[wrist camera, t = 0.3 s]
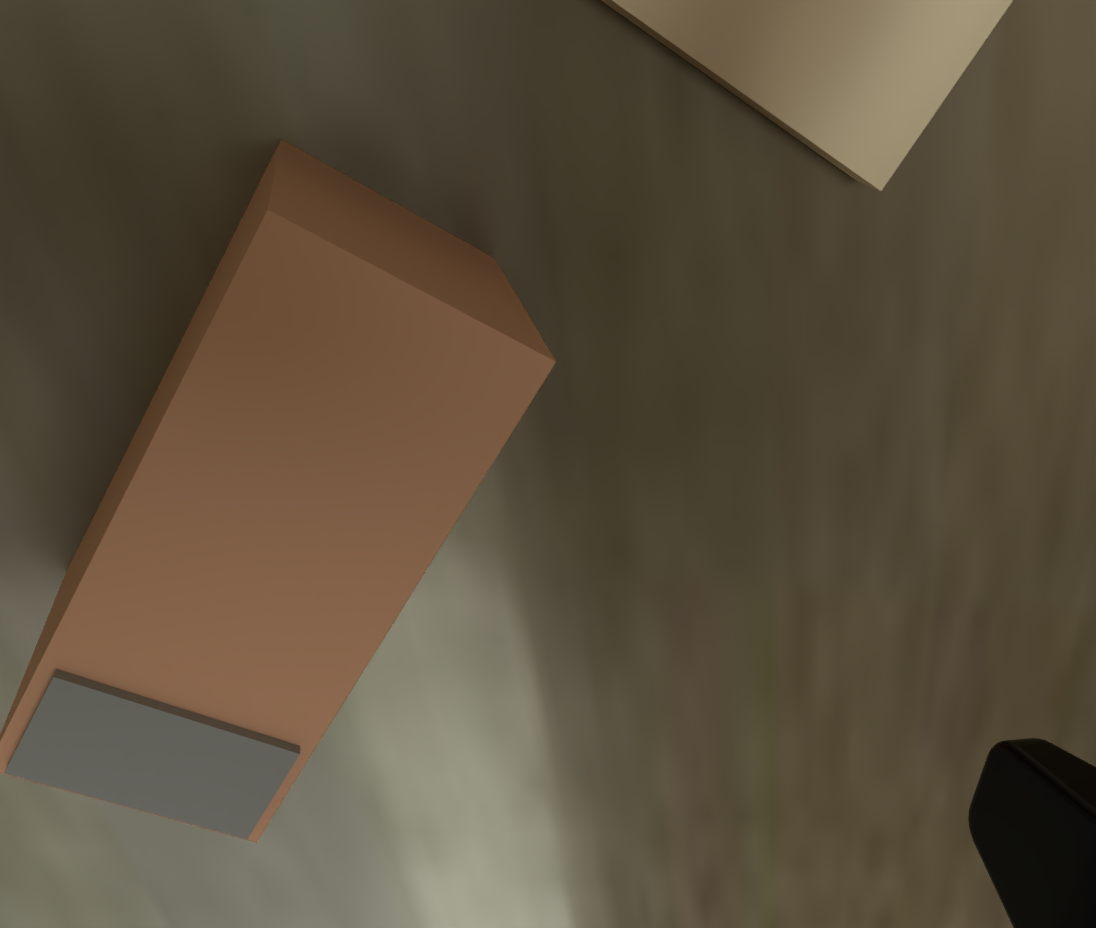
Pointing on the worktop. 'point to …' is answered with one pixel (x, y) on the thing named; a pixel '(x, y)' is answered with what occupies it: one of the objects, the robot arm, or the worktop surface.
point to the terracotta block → (274, 504)
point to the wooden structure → (830, 65)
